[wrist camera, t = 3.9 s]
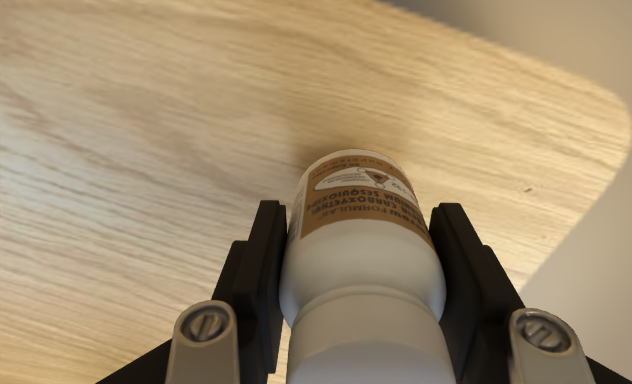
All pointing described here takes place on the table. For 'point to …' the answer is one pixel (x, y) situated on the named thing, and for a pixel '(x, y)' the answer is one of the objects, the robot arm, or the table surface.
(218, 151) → the table surface
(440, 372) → the pill bottle
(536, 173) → the table surface
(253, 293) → the robot arm
